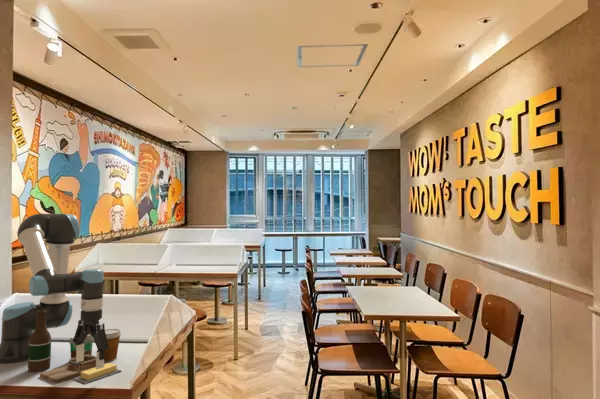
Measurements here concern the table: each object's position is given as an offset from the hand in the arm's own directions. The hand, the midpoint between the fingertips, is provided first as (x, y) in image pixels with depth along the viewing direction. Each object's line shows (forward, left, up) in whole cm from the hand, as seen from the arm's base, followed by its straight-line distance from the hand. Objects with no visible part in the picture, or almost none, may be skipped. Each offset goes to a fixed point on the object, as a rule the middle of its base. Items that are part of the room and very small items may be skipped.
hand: (89, 364), depth 155 cm
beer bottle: (-26, -6, -5) cm, 28 cm away
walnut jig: (-12, 0, -5) cm, 13 cm away
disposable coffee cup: (-14, +18, -5) cm, 23 cm away
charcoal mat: (0, +4, -5) cm, 6 cm away
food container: (-24, +12, -5) cm, 28 cm away
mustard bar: (0, +4, -5) cm, 6 cm away
